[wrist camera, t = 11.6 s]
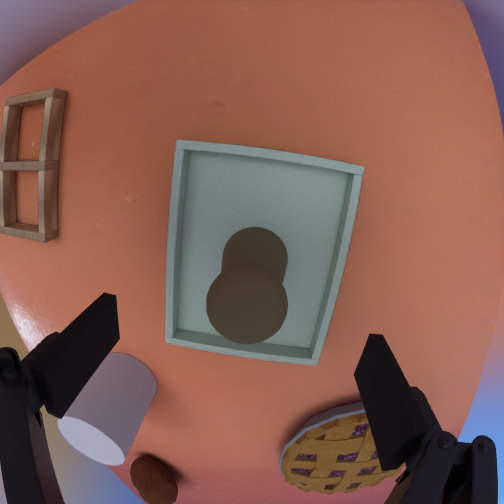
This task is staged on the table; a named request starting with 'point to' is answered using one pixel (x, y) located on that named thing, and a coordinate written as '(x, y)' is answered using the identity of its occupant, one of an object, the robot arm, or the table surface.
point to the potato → (153, 481)
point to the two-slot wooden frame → (31, 165)
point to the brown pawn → (249, 287)
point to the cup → (110, 409)
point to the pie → (334, 453)
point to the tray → (258, 215)
